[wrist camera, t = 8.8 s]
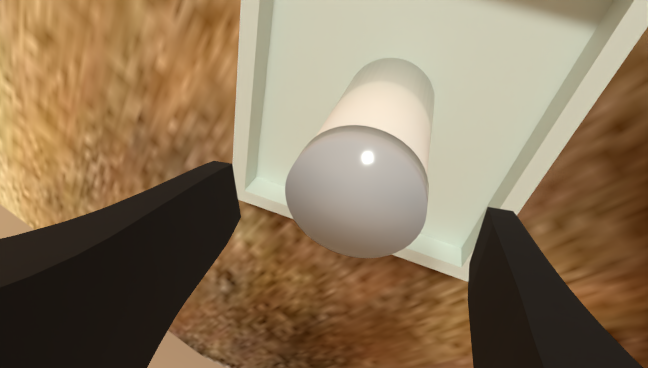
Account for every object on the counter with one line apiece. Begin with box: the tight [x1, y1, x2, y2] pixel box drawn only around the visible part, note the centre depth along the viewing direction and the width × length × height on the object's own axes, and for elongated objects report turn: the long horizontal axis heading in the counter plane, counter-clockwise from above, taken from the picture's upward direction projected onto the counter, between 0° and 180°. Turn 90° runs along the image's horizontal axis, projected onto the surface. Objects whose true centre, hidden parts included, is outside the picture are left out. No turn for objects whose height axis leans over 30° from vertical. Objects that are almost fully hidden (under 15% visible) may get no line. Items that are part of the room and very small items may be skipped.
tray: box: [233, 0, 648, 282], centre depth 17 cm, size 14×15×2 cm
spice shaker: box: [285, 58, 435, 258], centre depth 14 cm, size 4×4×8 cm
